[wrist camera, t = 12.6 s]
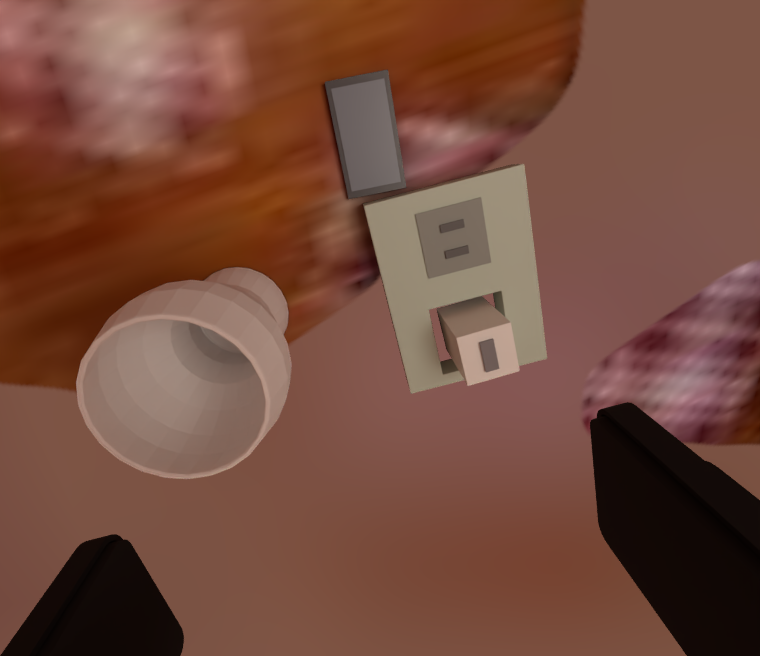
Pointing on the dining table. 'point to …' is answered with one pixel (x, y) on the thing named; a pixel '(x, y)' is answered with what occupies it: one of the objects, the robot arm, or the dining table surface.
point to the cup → (189, 374)
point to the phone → (366, 133)
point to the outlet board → (457, 263)
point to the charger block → (478, 340)
